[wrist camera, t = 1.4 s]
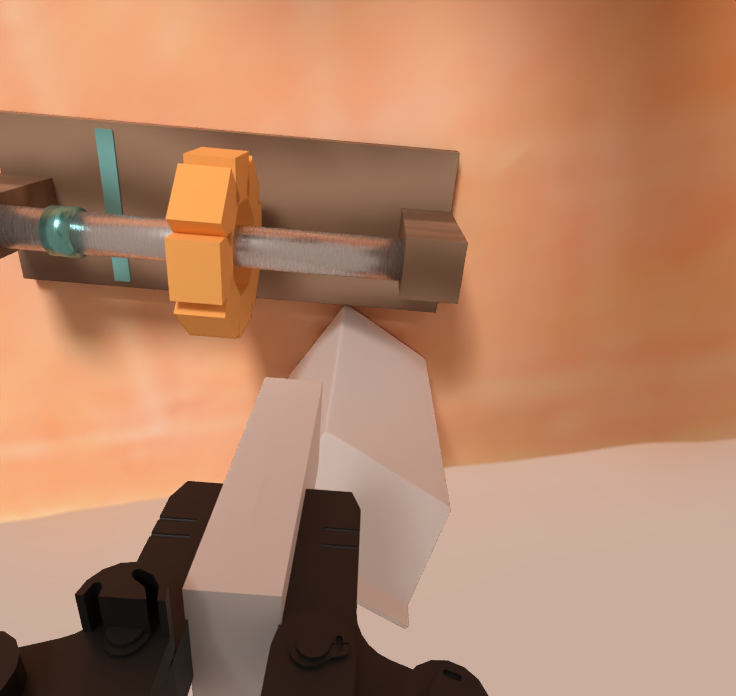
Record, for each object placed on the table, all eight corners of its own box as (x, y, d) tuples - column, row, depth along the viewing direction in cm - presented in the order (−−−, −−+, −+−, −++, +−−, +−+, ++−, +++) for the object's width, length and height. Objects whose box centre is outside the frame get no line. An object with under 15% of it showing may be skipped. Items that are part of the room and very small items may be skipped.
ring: (218, 140, 30) (157, 162, 22) (261, 144, 30) (216, 167, 22) (224, 294, 34) (175, 361, 26) (262, 297, 34) (224, 365, 26)
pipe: (-19, 193, 28) (-55, 203, 26) (431, 232, 29) (436, 245, 27) (-8, 241, 30) (-41, 255, 27) (425, 278, 30) (429, 294, 28)
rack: (-1, 110, 31) (-114, 118, 24) (457, 151, 32) (479, 170, 25) (32, 273, 36) (-55, 320, 29) (434, 306, 36) (447, 361, 29)
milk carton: (345, 301, 36) (315, 495, 19) (426, 358, 38) (464, 581, 21) (288, 374, 39) (217, 601, 22) (366, 424, 41) (357, 670, 24)
